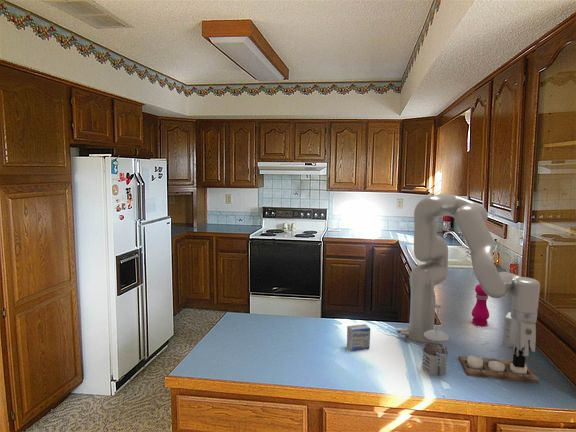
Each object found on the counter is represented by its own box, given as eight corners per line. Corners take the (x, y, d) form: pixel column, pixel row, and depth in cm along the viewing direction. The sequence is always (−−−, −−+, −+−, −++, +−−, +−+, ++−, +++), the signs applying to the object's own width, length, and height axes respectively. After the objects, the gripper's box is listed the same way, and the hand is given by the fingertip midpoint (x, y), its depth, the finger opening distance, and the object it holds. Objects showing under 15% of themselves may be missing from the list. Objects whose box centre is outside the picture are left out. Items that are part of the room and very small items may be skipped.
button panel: (466, 379, 135) (466, 371, 135) (458, 362, 147) (458, 355, 147) (538, 386, 131) (538, 379, 131) (523, 368, 143) (524, 361, 143)
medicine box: (351, 351, 154) (351, 330, 153) (346, 346, 158) (347, 325, 157) (369, 349, 156) (370, 328, 155) (364, 344, 160) (365, 323, 159)
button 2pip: (512, 378, 136) (513, 369, 136) (507, 370, 141) (508, 362, 140) (528, 379, 135) (529, 370, 135) (522, 372, 140) (523, 363, 140)
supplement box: (505, 341, 165) (508, 311, 164) (526, 346, 161) (529, 316, 159) (501, 347, 160) (504, 316, 158) (523, 353, 155) (526, 321, 153)
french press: (441, 366, 144) (446, 298, 141) (456, 384, 132) (461, 311, 129) (414, 366, 144) (418, 298, 140) (426, 384, 132) (431, 311, 129)
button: (490, 376, 137) (491, 367, 137) (485, 368, 142) (486, 360, 142) (506, 377, 136) (507, 368, 136) (501, 370, 141) (502, 361, 141)
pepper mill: (490, 327, 179) (494, 283, 176) (473, 326, 180) (476, 282, 177) (486, 321, 186) (489, 279, 183) (469, 319, 187) (472, 278, 184)
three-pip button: (468, 370, 138) (469, 361, 138) (465, 363, 143) (465, 354, 143) (484, 372, 137) (485, 363, 137) (480, 364, 142) (480, 356, 142)
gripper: (545, 324, 127) (539, 378, 130) (527, 307, 142) (521, 356, 144) (520, 322, 128) (514, 376, 131) (504, 305, 143) (499, 354, 146)
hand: (518, 365), depth 138 cm, fingers closed
